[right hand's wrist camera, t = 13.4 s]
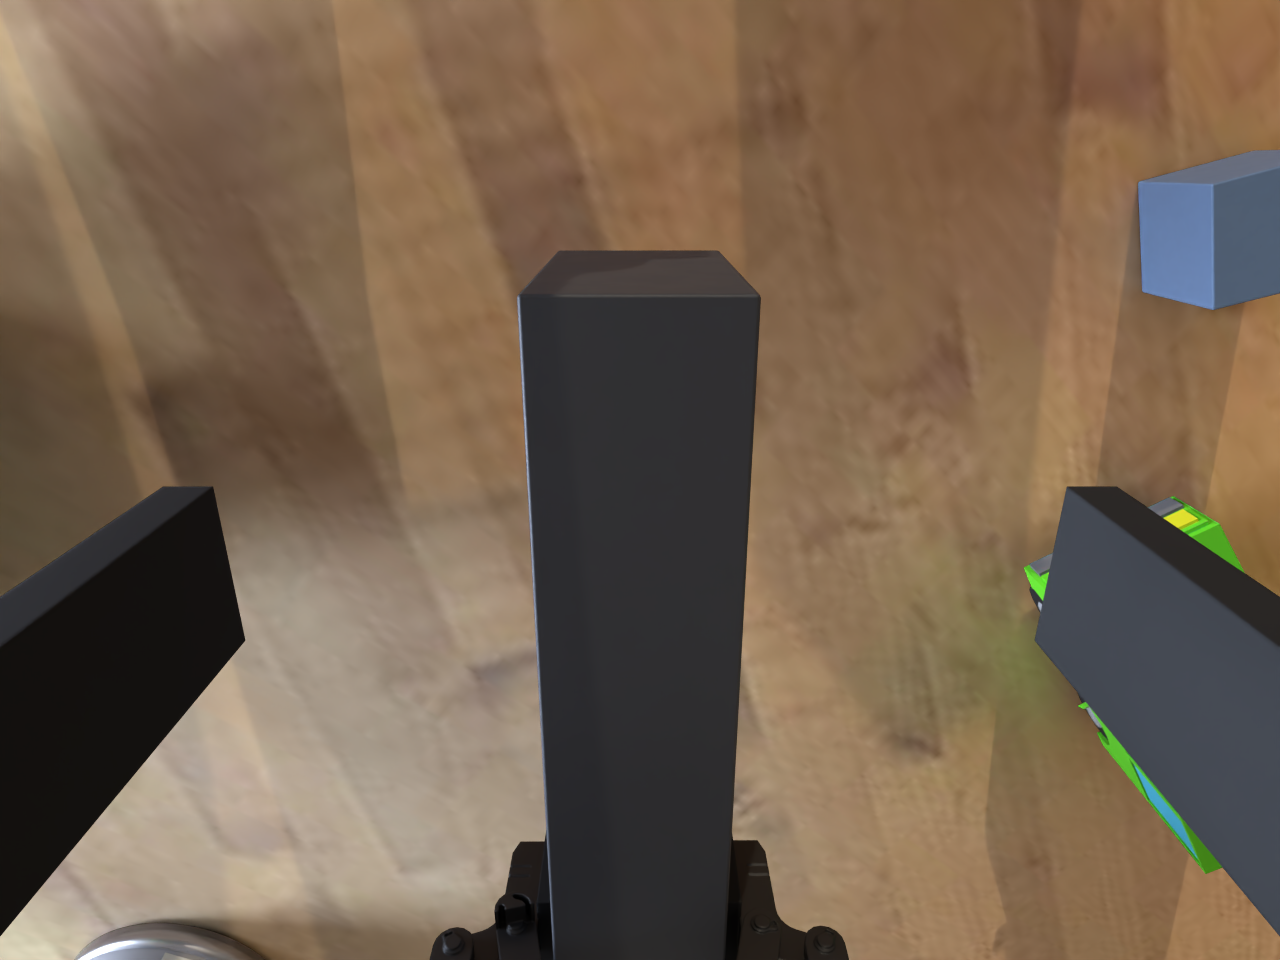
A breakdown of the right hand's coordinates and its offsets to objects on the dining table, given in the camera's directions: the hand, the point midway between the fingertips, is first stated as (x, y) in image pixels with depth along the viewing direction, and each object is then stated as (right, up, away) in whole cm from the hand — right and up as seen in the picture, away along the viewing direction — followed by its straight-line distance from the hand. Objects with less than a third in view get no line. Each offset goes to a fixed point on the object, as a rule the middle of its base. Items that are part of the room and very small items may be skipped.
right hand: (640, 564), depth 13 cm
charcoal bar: (0, -3, +17) cm, 17 cm away
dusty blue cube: (+25, +13, +24) cm, 37 cm away
